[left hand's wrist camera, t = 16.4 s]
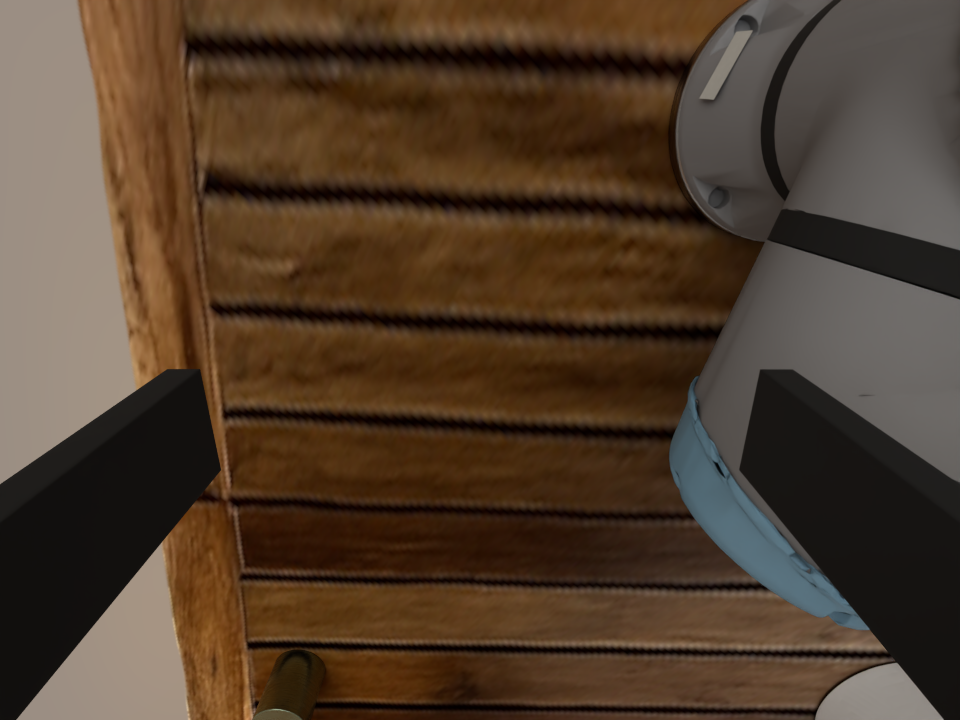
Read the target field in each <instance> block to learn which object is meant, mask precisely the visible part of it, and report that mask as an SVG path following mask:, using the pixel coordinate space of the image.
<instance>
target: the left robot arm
mask: <svg viewBox="0 0 960 720" xmlns="http://www.w3.org/2000/svg"><path fill="white" fill-rule="evenodd" d="M669 148H670V157H671V162H672V166H673V170H674V173H675V176H676V179H677V181H678V184H679V186H680V188H681V190H682V192H683V194H684V195H685V197H686V199H687V200H688V201H689V203H690V204H691V205H692V207H693V208H694V209H695V210H696V211H697V212H698V213H699V214H700V215H701V216H702V217H703V218H705V219H706V220H707V221H708V222H710V223H711V224H713V225H714V226H716V227H718V228H720V229H722V230H724V231H726V232H729V233H731V234H734V235H737V236H740V237H744V238H747V239H751V240H756V241H762V242H765V243H764V245H763V247H762V249H761V251H760V253H759V255H758V257H757V260H756V262H755V264H754V266H753V268H752V270H751V272H750V274H749V276H748V278H747V280H746V282H745V284H744V286H743V288H742V290H741V292H740V294H739V296H738V298H737V300H736V302H735V305H734V307H733V309H732V311H731V313H730V315H729V317H728V319H727V321H726V323H725V325H724V327H723V329H722V331H721V333H720V335H719V337H718V339H717V341H716V343H715V345H714V348H713V350H712V352H711V354H710V356H709V358H708V360H707V362H706V364H705V366H704V368H703V370H702V372H701V374H700V375H699V376H696V377H695V378H694V380H693V381H692V383H691V385H690V387H689V391H688V402H687V404H686V407H685V409H684V412H683V414H682V416H681V419H680V421H679V424H678V426H677V428H676V431H675V433H674V436H673V438H672V441H671V445H670V452H669V461H670V469H671V472H672V475H673V478H674V481H675V483H676V485H677V487H678V488H679V490H680V495H681V498H682V500H683V501H684V503H685V505H686V506H687V508H688V510H689V511H690V513H691V514H692V515H693V517H694V518H695V520H696V521H697V522H698V523H699V525H700V526H701V527H702V528H703V530H704V531H705V532H706V533H707V534H708V535H709V537H710V538H711V539H712V540H713V541H714V542H715V543H716V544H717V545H718V546H719V547H720V548H721V549H722V550H723V551H724V552H725V553H726V554H727V555H728V556H729V557H730V558H731V559H732V560H733V561H734V562H736V563H737V564H738V565H739V566H740V567H741V568H742V569H744V570H745V571H746V572H747V573H748V574H750V575H751V576H752V577H753V578H755V579H756V580H757V581H758V582H760V583H761V584H762V585H764V586H765V587H767V588H768V589H769V590H771V591H772V592H774V593H775V594H777V595H778V596H780V597H781V598H783V599H785V600H786V601H788V602H789V603H791V604H793V605H795V606H796V607H798V608H800V609H802V610H804V611H806V612H808V613H810V614H812V615H814V616H816V617H825V616H829V617H830V618H831V619H832V620H833V621H834V622H836V623H837V624H838V625H840V626H844V627H848V628H852V629H857V630H871V632H872V633H873V634H874V635H875V636H876V638H877V639H878V640H879V641H880V643H881V644H882V645H883V646H884V647H885V649H886V650H887V651H888V652H889V654H890V655H891V656H892V657H893V658H894V660H895V661H896V662H897V663H898V664H899V666H900V667H901V668H902V669H903V671H904V672H905V673H906V674H907V675H908V677H909V678H910V679H911V680H912V682H913V683H914V684H915V685H916V686H917V688H918V689H919V690H920V691H921V693H922V694H923V695H924V696H925V697H926V699H927V700H928V701H929V702H930V704H931V705H932V706H933V707H934V708H935V710H936V711H937V712H938V713H939V714H940V716H941V717H942V718H943V719H944V720H960V0H748V1H746V2H745V3H743V4H742V5H740V6H739V7H737V8H736V9H735V10H733V11H732V12H731V13H730V14H728V15H727V16H726V17H725V18H724V19H723V20H722V21H721V22H719V23H718V24H717V25H716V27H715V28H714V29H713V30H712V31H711V32H710V33H709V34H708V35H707V37H706V38H705V39H704V40H703V42H702V43H701V44H700V46H699V47H698V49H697V50H696V52H695V53H694V55H693V56H692V58H691V60H690V62H689V63H688V65H687V67H686V69H685V71H684V73H683V76H682V78H681V80H680V82H679V85H678V88H677V91H676V94H675V98H674V102H673V105H672V110H671V116H670V125H669ZM785 245H786V246H785ZM220 471H221V468H220V463H219V458H218V453H217V448H216V444H215V439H214V434H213V429H212V425H211V420H210V415H209V410H208V405H207V401H206V396H205V391H204V386H203V381H202V377H201V372H200V369H167V370H166V371H164V372H163V373H161V374H160V375H158V376H157V377H155V378H154V379H152V380H151V381H150V382H148V383H147V384H145V385H144V386H142V387H141V388H139V389H138V390H137V391H135V392H134V393H132V394H131V395H129V396H128V397H126V398H125V399H123V400H122V401H121V402H119V403H118V404H116V405H115V406H113V407H112V408H110V409H109V410H107V411H106V412H105V413H103V414H102V415H100V416H99V417H97V418H96V419H94V420H93V421H91V422H90V423H89V424H87V425H86V426H84V427H83V428H81V429H80V430H78V431H77V432H75V433H74V434H73V435H71V436H70V437H68V438H67V439H65V440H64V441H62V442H61V443H60V444H58V445H57V446H55V447H54V448H52V449H51V450H49V451H48V452H46V453H45V454H44V455H42V456H41V457H39V458H38V459H36V460H35V461H33V462H32V463H31V464H29V465H28V466H26V467H25V468H23V469H22V470H20V471H19V472H17V473H16V474H14V475H13V476H12V477H10V478H9V479H7V480H6V481H4V482H3V483H1V484H0V720H16V719H17V718H18V717H19V716H20V714H21V713H22V712H23V711H24V710H25V708H26V707H27V706H28V705H29V704H30V702H31V701H32V700H33V699H34V697H35V696H36V695H37V694H38V693H39V691H40V690H41V689H42V688H43V686H44V685H45V684H46V683H47V682H48V680H49V679H50V678H51V677H52V675H53V674H54V673H55V672H56V671H57V669H58V668H59V667H60V666H61V664H62V663H63V662H64V661H65V660H66V658H67V657H68V656H69V655H70V654H71V652H72V651H73V650H74V649H75V647H76V646H77V645H78V644H79V643H80V641H81V640H82V639H83V638H84V636H85V635H86V634H87V633H88V632H89V630H90V629H91V628H92V627H93V625H94V624H95V623H96V622H97V621H98V619H99V618H100V617H101V616H102V614H103V613H104V612H105V611H106V610H107V608H108V607H109V606H110V605H111V604H112V602H113V601H114V600H115V599H116V597H117V596H118V595H119V594H120V593H121V591H122V590H123V589H124V588H125V586H126V585H127V584H128V583H129V582H130V580H131V579H132V578H133V577H134V575H135V574H136V573H137V572H138V571H139V569H140V568H141V567H142V566H143V564H144V563H145V562H146V561H147V560H148V558H149V557H150V556H151V555H152V553H153V552H154V551H155V550H156V549H157V547H158V546H159V545H160V544H161V543H162V541H163V540H164V539H165V538H166V536H167V535H168V534H169V533H170V532H171V530H172V529H173V528H174V527H175V525H176V524H177V523H178V522H179V521H180V519H181V518H182V517H183V516H184V514H185V513H186V512H187V511H188V510H189V508H190V507H191V506H192V505H193V504H194V502H195V501H196V500H197V499H198V497H199V496H200V495H201V494H202V493H203V491H204V490H205V489H206V488H207V486H208V485H209V484H210V483H211V482H212V480H213V479H214V478H215V477H216V475H217V474H218V473H219V472H220Z"/></svg>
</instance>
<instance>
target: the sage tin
mask: <svg viewBox="0 0 960 720" xmlns="http://www.w3.org/2000/svg"><path fill="white" fill-rule="evenodd" d="M324 675H325V666H324V663H323V662H322V660H321V659H320V658H319V657H317V656H316V655H314V654H312V653H310V652H307V651H303V650H292V651H288V652H285V653H283V654H282V655H280V656H279V657H278V658H277V660H276V662H275V665H274V667H273V670H272V672H271V675H270V677H269V680H268V682H267V685H266V687H265V689H264V692H263V694H262V697H261V699H260V702H259V704H258V707H257V709H256V712H255V714H254V717H253V719H252V720H311V718H312V715H313V712H314V708H315V705H316V702H317V698H318V695H319V691H320V688H321V685H322V681H323V678H324Z"/></svg>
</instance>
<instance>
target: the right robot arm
mask: <svg viewBox="0 0 960 720" xmlns="http://www.w3.org/2000/svg"><path fill="white" fill-rule="evenodd" d="M815 720H944V719H943V718H942V717H941V716H940V714H939V713H938V712H937V711H936V710H935V708H934V707H933V706H932V705H931V704H930V702H929V701H928V700H927V699H926V697H925V696H924V695H923V694H922V693H921V691H920V690H919V689H918V688H917V686H916V685H915V684H914V683H913V682H912V680H911V679H910V678H909V677H908V675H907V674H906V673H905V672H904V671H903V669H902V668H901V667H900V666H899V664H898V663H892V664H886V665H882V666H878V667H874V668H871V669H868V670H866V671H863V672H861V673H858V674H856V675H854V676H852V677H851V678H849V679H847V680H846V681H844V682H843V683H841V684H840V685H838V686H837V687H836V688H835V689H834V690H832V691H831V692H830V693H829V694H828V695H827V697H826V698H825V699H824V700H823V702H822V703H821V705H820V706H819V708H818V711H817V713H816V717H815Z"/></svg>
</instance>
